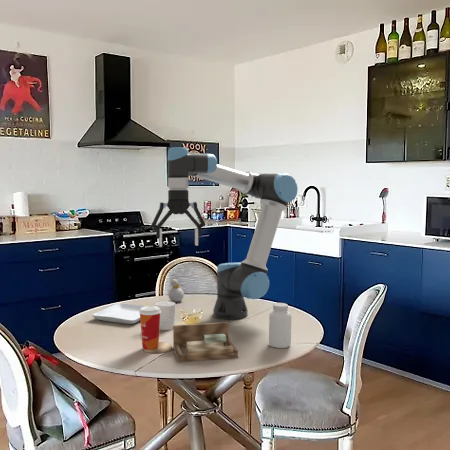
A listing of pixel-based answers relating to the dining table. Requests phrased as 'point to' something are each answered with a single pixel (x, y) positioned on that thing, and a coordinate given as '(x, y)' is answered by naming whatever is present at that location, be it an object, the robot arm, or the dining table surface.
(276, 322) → the pill bottle
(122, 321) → the salad plate
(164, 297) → the dining table surface
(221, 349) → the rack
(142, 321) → the paper cup
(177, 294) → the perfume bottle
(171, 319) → the white cup
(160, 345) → the mat
